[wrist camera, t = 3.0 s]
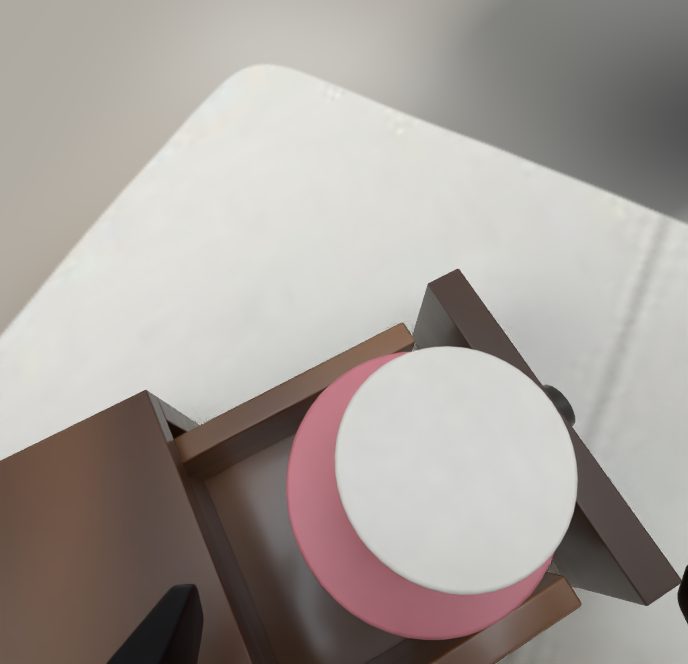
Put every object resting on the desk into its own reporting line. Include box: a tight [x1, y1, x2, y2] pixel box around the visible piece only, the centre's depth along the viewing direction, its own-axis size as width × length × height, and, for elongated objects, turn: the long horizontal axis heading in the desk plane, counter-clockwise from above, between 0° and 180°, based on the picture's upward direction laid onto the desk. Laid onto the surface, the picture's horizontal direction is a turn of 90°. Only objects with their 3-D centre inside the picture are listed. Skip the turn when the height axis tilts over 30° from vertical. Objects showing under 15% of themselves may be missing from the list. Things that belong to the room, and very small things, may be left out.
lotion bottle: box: [286, 346, 578, 640], centre depth 11 cm, size 5×5×12 cm
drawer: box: [174, 269, 682, 664], centre depth 15 cm, size 13×10×5 cm
